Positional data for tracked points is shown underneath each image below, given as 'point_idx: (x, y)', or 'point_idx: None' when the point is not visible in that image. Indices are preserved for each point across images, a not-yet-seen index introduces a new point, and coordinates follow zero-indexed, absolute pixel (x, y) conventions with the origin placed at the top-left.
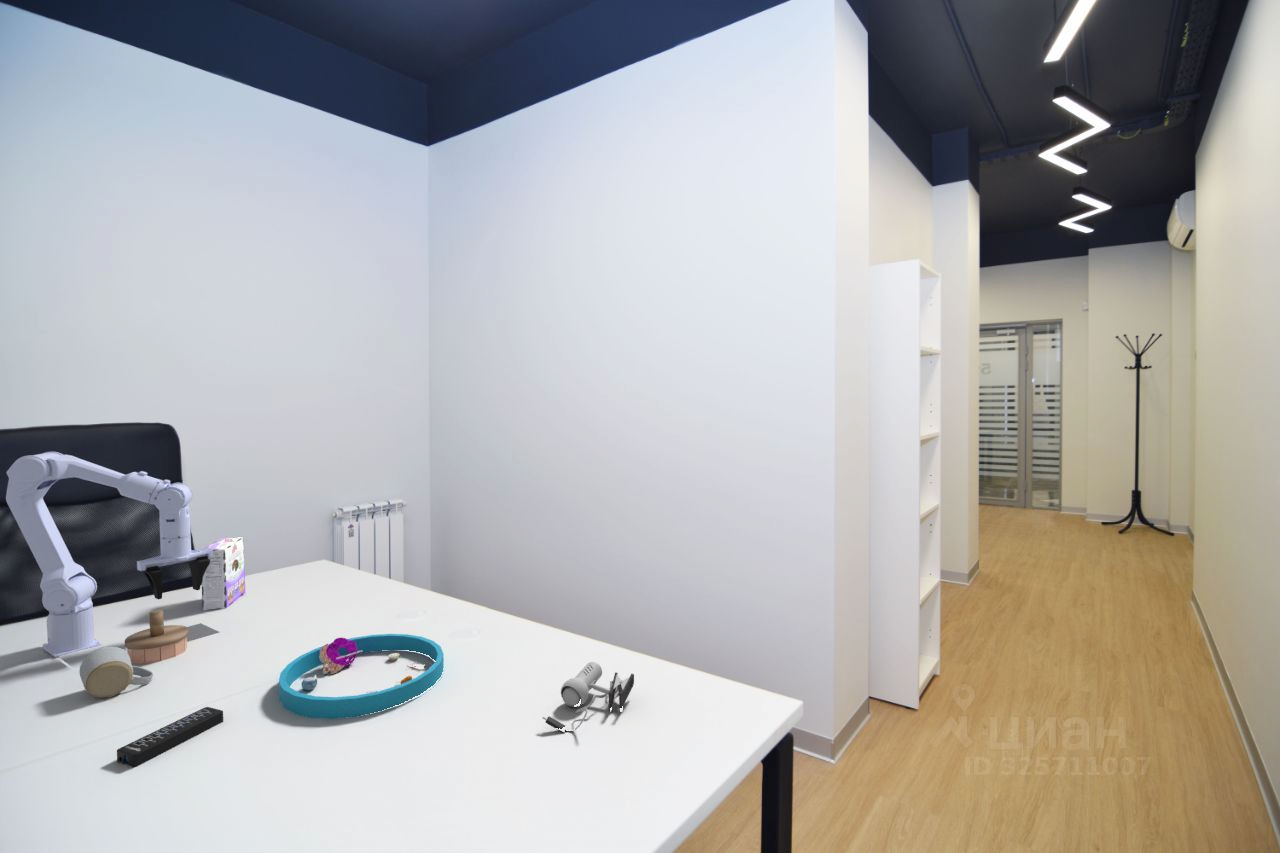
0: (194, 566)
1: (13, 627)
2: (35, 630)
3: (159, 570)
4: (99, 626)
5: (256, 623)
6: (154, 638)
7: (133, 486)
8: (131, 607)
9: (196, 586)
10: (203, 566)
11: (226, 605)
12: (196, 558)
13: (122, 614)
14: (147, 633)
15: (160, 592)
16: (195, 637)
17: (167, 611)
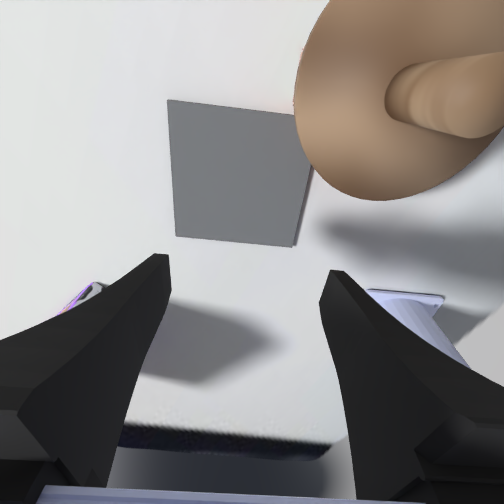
0: (106, 406)
1: (344, 434)
2: (343, 413)
3: (465, 444)
4: (294, 373)
5: (38, 79)
6: (456, 43)
7: None
8: (218, 406)
9: (161, 270)
10: (32, 352)
11: (85, 290)
12: (35, 499)
13: (243, 392)
14: (406, 149)
15: (352, 287)
16: (238, 126)
17: (189, 358)
